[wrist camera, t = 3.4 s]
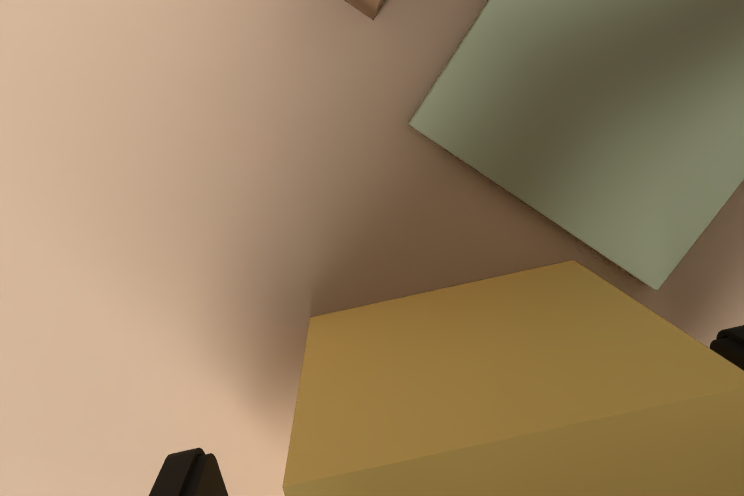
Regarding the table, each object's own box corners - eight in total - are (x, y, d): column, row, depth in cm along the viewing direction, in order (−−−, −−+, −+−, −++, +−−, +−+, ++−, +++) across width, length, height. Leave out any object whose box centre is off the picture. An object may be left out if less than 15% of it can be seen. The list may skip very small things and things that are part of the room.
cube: (572, 258, 13) (761, 382, 7) (602, 486, 14) (780, 747, 8) (310, 316, 13) (282, 487, 7) (366, 537, 14) (382, 832, 8)
